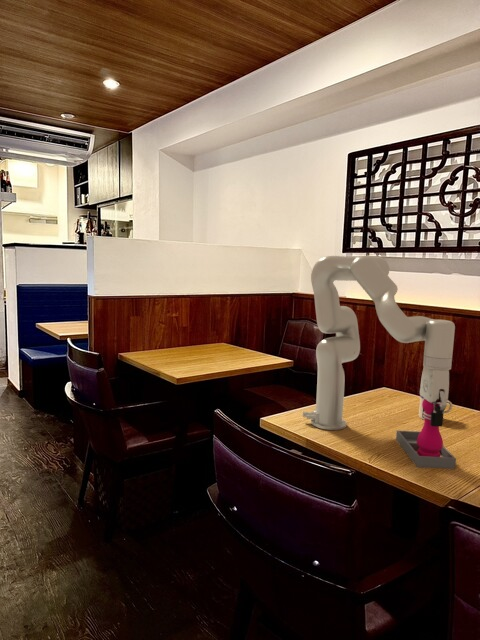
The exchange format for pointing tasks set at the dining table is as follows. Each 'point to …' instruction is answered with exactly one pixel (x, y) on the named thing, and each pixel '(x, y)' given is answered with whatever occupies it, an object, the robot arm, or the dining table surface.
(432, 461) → the tray
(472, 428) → the dining table surface
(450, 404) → the teacup with lid
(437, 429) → the pepper mill
